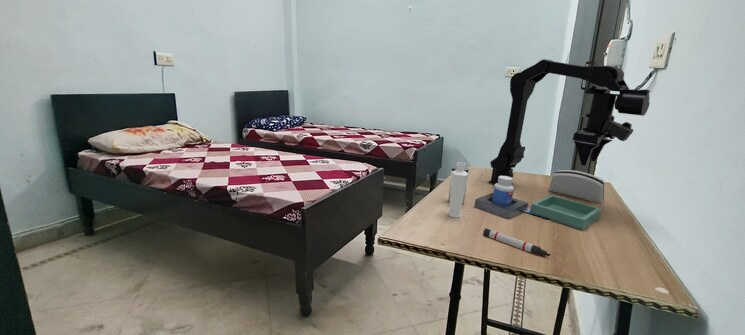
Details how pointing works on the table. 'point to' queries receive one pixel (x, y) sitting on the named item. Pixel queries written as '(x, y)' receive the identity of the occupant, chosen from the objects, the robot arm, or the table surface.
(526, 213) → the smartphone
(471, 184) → the table surface
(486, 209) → the gray square holder
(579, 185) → the napkin holder
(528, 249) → the marker
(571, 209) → the tray
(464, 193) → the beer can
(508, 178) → the pill bottle
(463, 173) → the perfume bottle
